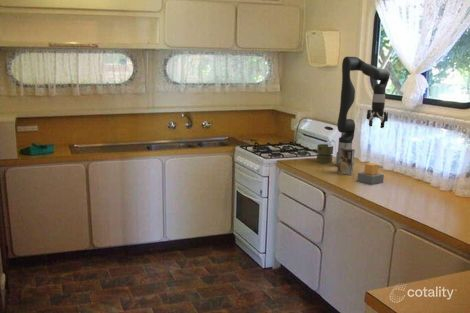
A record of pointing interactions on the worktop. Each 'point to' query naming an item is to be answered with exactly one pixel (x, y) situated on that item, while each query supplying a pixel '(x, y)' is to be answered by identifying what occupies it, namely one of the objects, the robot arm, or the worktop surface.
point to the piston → (324, 153)
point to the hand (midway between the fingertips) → (376, 127)
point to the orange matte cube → (371, 169)
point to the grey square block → (370, 178)
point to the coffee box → (346, 161)
